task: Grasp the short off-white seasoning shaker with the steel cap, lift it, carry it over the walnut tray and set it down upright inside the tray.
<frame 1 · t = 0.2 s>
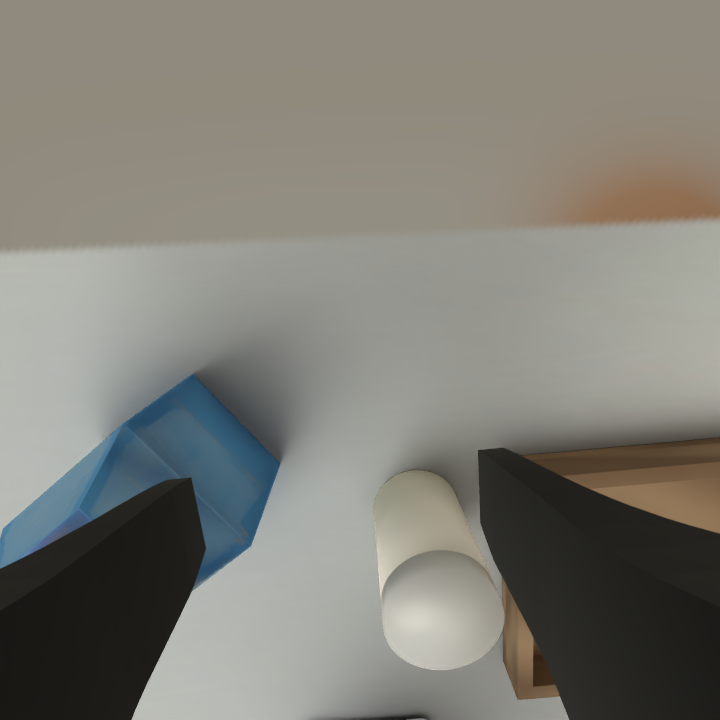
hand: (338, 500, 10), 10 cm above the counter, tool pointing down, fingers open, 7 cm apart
shaker: (415, 508, 22), on the counter
walnut tray: (621, 555, 23), on the counter
perfume bottle: (194, 455, 21), on the counter
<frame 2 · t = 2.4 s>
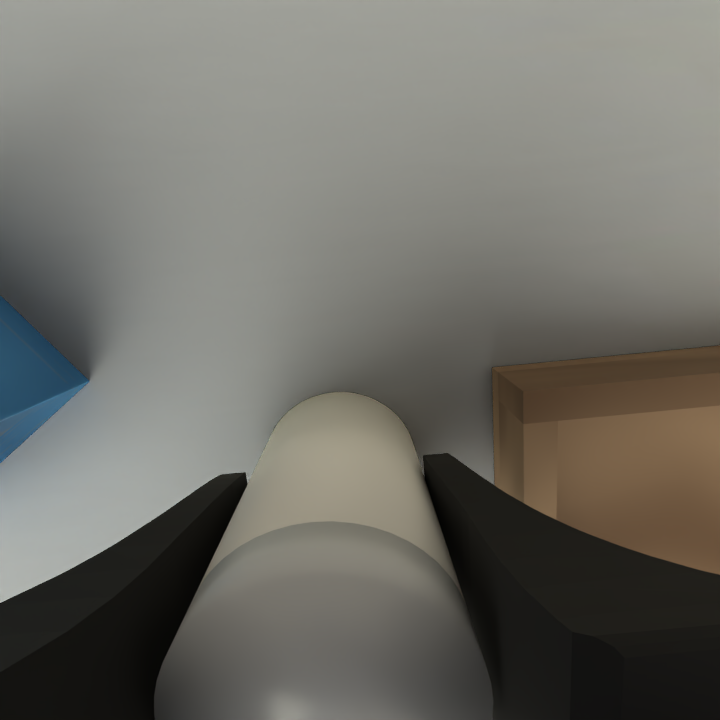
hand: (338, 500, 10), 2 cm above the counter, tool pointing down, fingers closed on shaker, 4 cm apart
shaker: (340, 463, 12), on the counter, touching gripper
walnut tray: (703, 547, 13), on the counter
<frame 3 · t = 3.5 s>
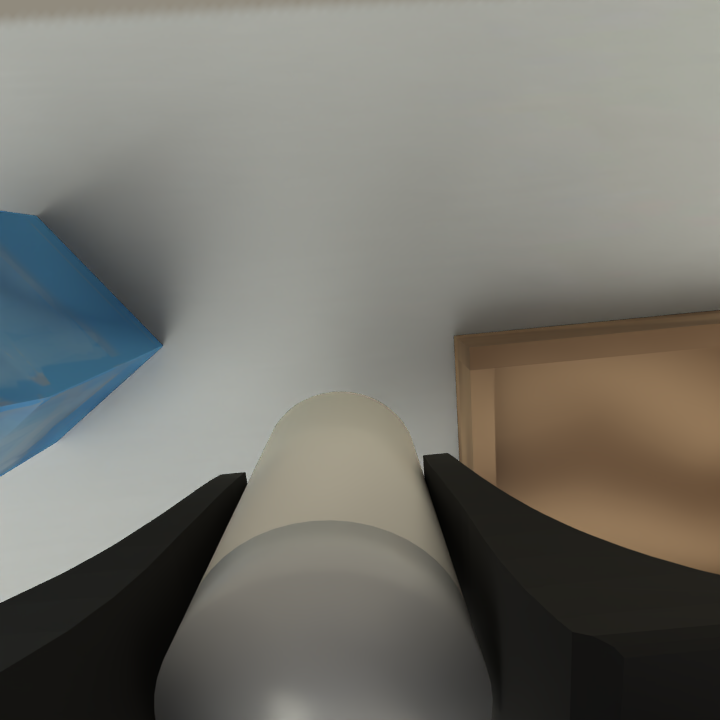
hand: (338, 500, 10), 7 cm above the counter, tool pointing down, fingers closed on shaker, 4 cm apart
shaker: (340, 462, 12), point 5 cm above the counter, touching gripper
walnut tray: (614, 472, 18), on the counter
perfume bottle: (50, 335, 16), on the counter
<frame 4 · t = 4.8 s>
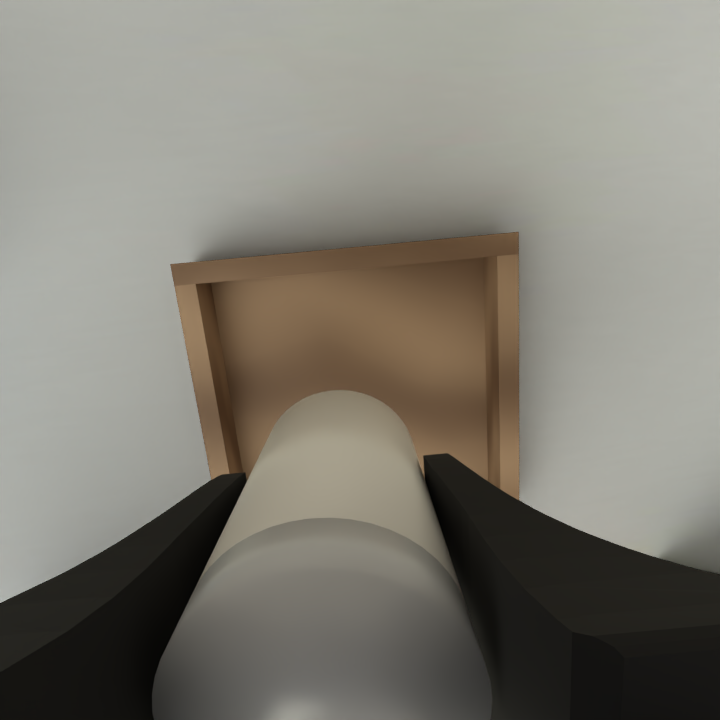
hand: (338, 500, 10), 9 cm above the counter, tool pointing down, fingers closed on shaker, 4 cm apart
shaker: (340, 461, 12), point 7 cm above the counter, touching gripper
walnut tray: (359, 395, 19), on the counter
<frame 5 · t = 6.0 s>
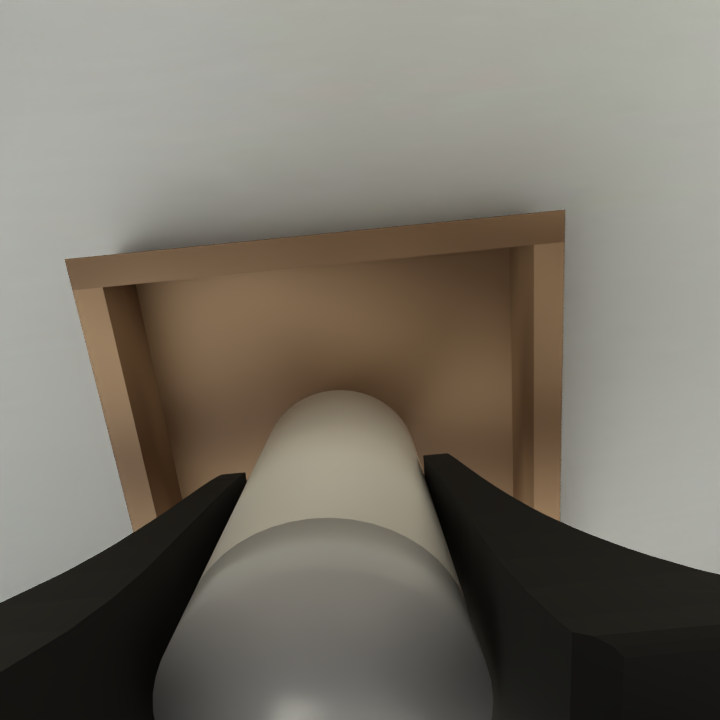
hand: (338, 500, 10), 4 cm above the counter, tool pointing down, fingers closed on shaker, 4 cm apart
shaker: (340, 461, 12), point 2 cm above the counter, touching gripper
walnut tray: (342, 433, 14), on the counter
when the fingers open (3 cm above the counter, at t = 7.1 s): shaker stays where it is, resting on walnut tray.
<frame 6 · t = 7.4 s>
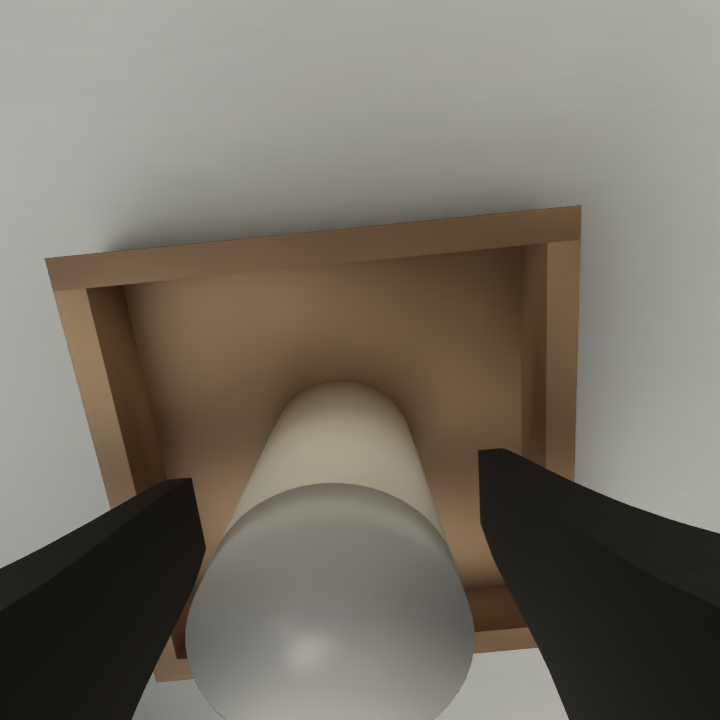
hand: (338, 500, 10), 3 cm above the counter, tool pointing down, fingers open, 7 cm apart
shaker: (341, 447, 13), point 1 cm above the counter, touching walnut tray
walnut tray: (342, 442, 14), on the counter
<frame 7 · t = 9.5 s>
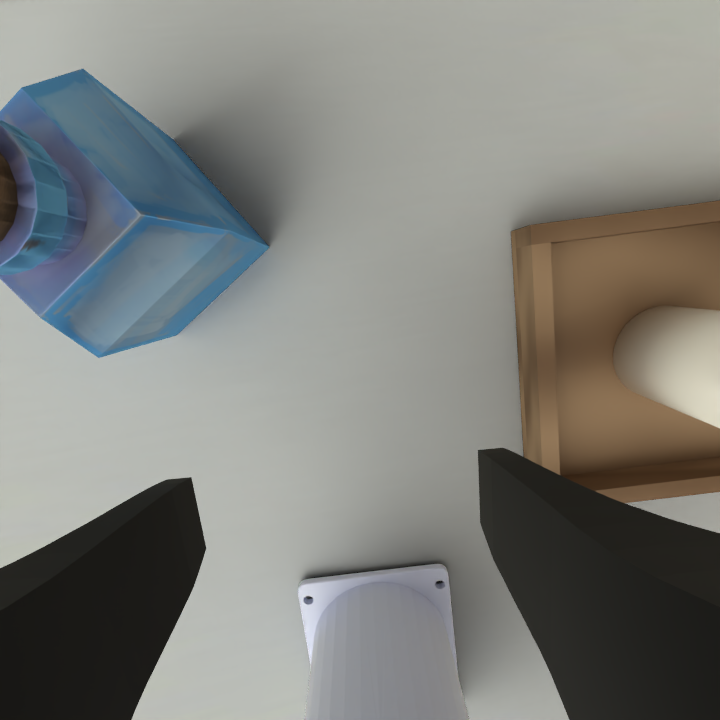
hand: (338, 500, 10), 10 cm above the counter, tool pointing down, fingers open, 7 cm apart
shaker: (659, 352, 20), point 1 cm above the counter, touching walnut tray
walnut tray: (651, 351, 20), on the counter
perfume bottle: (176, 241, 19), on the counter
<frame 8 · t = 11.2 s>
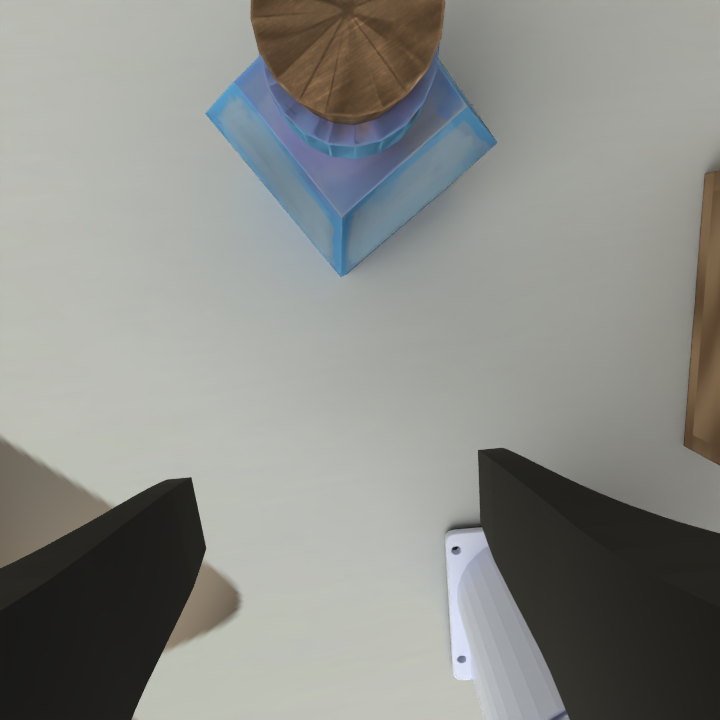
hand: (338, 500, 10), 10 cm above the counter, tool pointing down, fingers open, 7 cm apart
perfume bottle: (354, 174, 19), on the counter
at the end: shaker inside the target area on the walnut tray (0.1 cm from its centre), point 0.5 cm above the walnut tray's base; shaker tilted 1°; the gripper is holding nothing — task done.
